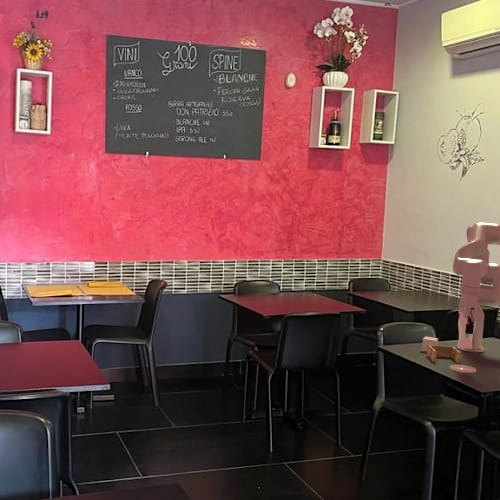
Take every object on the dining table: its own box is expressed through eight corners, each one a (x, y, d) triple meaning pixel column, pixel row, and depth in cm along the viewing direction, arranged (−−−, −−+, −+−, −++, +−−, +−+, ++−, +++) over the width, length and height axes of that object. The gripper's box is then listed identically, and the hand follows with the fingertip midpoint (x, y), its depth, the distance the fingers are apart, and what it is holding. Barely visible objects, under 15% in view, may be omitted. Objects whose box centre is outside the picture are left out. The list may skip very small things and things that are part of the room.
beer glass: (474, 349, 287) (477, 314, 285) (457, 348, 288) (460, 312, 287) (472, 346, 294) (475, 311, 292) (455, 344, 295) (458, 310, 293)
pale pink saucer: (446, 365, 297) (446, 363, 297) (471, 366, 297) (471, 365, 297) (453, 372, 286) (453, 370, 286) (479, 373, 286) (480, 372, 286)
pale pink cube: (434, 353, 319) (435, 340, 318) (421, 351, 321) (422, 338, 321) (437, 350, 324) (438, 338, 324) (424, 348, 327) (425, 336, 326)
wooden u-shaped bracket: (427, 355, 313) (428, 345, 312) (452, 357, 313) (453, 346, 312) (434, 362, 301) (435, 351, 300) (460, 364, 301) (461, 352, 301)
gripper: (455, 286, 297) (451, 327, 299) (468, 292, 280) (463, 335, 282) (472, 287, 297) (468, 328, 299) (486, 294, 280) (482, 337, 282)
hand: (466, 331), depth 290 cm, fingers closed on beer glass, 6 cm apart
